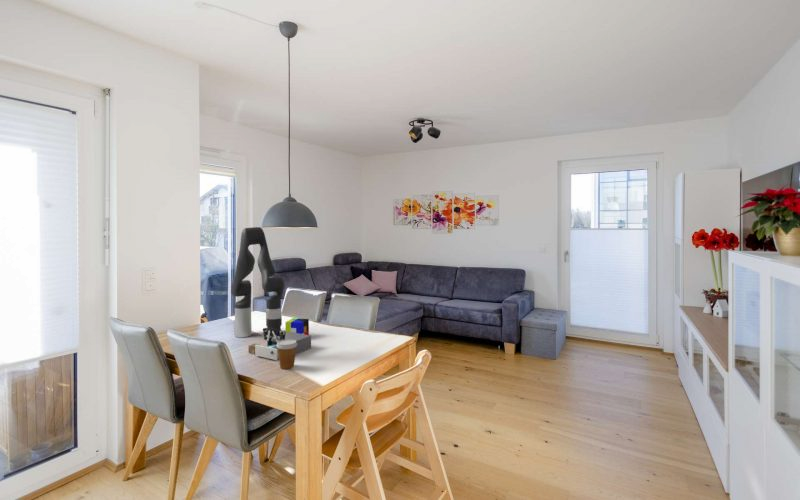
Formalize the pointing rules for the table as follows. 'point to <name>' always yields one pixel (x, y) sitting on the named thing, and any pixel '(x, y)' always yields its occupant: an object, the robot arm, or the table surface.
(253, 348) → the walnut block
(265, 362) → the table surface
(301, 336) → the block
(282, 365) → the disposable coffee cup
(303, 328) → the puzzle toy
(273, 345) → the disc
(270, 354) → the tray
